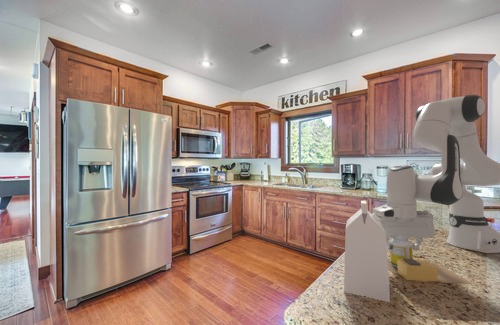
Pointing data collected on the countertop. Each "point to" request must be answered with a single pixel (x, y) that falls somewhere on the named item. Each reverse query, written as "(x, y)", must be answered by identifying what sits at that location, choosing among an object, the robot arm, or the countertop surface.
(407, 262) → the yellow block
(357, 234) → the milk
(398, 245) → the pill bottle
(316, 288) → the countertop surface
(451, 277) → the board
